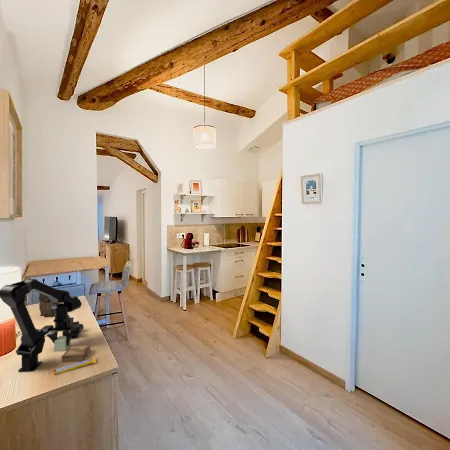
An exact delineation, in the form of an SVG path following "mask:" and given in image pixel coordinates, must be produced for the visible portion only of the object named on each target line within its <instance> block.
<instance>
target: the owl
mask: <svg viewBox="0 0 450 450" xmlns="http://www.w3.org/2000/svg"><path fill="white" fill-rule="evenodd" d="M38 293H39V292H38ZM38 301H39V303H38V307H39V311H40V315H39V316H40V317H42V316H44V317H43V318H55V312H54V310H51V309H50V308H51V307H52V306H53V305H54V304H60V303H59V302H53V301H51V300H50V299H49V298H48V297H47V296H46V295H43V294H41V293H39V295H38Z"/></svg>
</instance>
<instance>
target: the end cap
mask: <svg viewBox="0 0 450 450" xmlns="http://www.w3.org/2000/svg"><path fill="white" fill-rule="evenodd" d="M75 324H80V321H79V320H78V321H73V324H71V325H70V326H68V327H72V326H74V325H75ZM67 333H68V331H62V335H61V336H66V334H67ZM79 335H80V333H78V334H73V335H72V338H71V340H74V339H78V338H79Z"/></svg>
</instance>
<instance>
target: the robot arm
mask: <svg viewBox="0 0 450 450" xmlns="http://www.w3.org/2000/svg"><path fill="white" fill-rule="evenodd" d="M31 291H34V292H37V293H41V294H43V295H46V296H47V297H48V298H49V299H50V300H51V301H53V302H59V303H60V304H54V305H53V306H52V307H51V308H50V309H51V310H54V312H55V316H54V319H53V323H54V325H53V324H48V325H44V326H43V327H42V328H36V326H35V325H34V322H33V320H32V317H31V315H30V312H29V310H28V308H27V306H26V304H25V300H26V297H27V295H28V294H30V293H31ZM0 300H1V301H2V302H3V303H5V304H6V305H7V306H8V307H9V308H10V310H11V312H12V314H13V316H14V319H15V321H16V323H17V325H18V327H19V330H20V332H21V336H20V342H21V343H20V344H19V346H18V347H17V348H16V350H15V353H16V355H17V356H21V367H20V368H19V369H18V370H17V371H18V372H21V373H22V372H33V371H36V370H37V368H38V367H40V365H41V364H42V363H43V362H42V361H39V354H41V353H43V349H44V345H45V342H46V337H47V338H49V339H50V340H51V342H52V343H53V344H54V345H55V342H54V341H55V340H56V339H57V338H58V337H59V336H58V333H59V332H63V331H68V333H67V334H66V341H67V346H69V344H70V345H71V341H72V339H71V338H72V335H73V334H78V333H79V334H80V333H82V331H83V330H84V328H85V327H84V324H83V323H79V324H75V325H74V326H72V327H68V326H70V325H71V324H73V322H74V319H75V317H74V316H73V317H70V315H69V313H71V312H74V311H75V310H78V309H80V308H81V307H82V302H81V299H80V298H79V296H77V295H74V296H71V295H70V292H69V291H67V290H62V289H57V288H54V287H52V286H50V285H49V284H46V283H43V282H42V281H39V280H38V279H36V278H27V279H24V280H22V281H18V282H14V283H11V284H5V285H3V286H2V287H1V288H0ZM69 347H70V346H69Z"/></svg>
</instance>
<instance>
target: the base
mask: <svg viewBox="0 0 450 450" xmlns="http://www.w3.org/2000/svg"><path fill="white" fill-rule="evenodd" d="M90 352H91V344H85V345H70V346H69V347H68V348H67V349H66V350H65V351H64V353H63V354H62V355H61V363H72V362H75V363H77V362H82V361H85V359H86V357H87V356H88V355H89V353H90Z"/></svg>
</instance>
